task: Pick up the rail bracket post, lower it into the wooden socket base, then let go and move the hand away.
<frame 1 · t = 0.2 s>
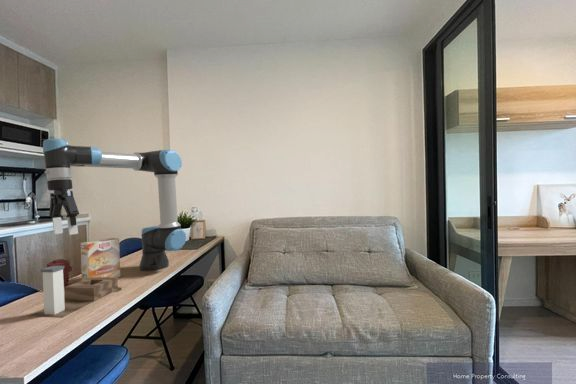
hand: (66, 234, 113), 27 cm above the table, tool pointing down, fingers open, 13 cm apart
wooden socket base: (92, 296, 121), on the table
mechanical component: (59, 286, 135), on the table
rail bracket post: (54, 311, 104), point 1 cm above the table, touching wooden socket base
coffeecake box: (101, 280, 143), on the table
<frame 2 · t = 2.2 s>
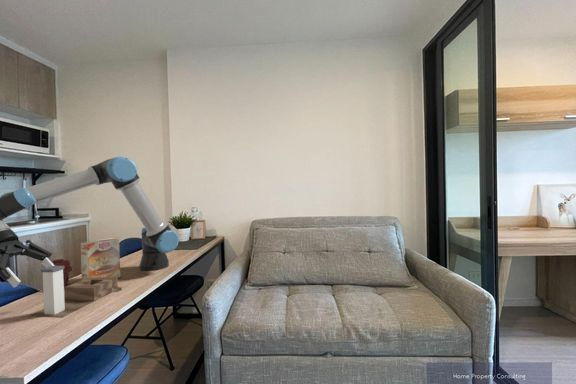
hand: (37, 278, 103), 13 cm above the table, tool tilted 45°, fingers open, 13 cm apart
nothing on the table moved.
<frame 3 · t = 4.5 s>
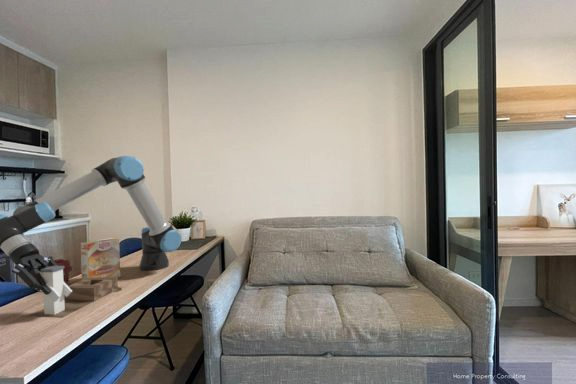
hand: (63, 296, 103), 7 cm above the table, tool tilted 45°, fingers closed on rail bracket post, 4 cm apart
rail bracket post: (54, 311, 104), point 1 cm above the table, touching gripper, wooden socket base
everything else where it was.
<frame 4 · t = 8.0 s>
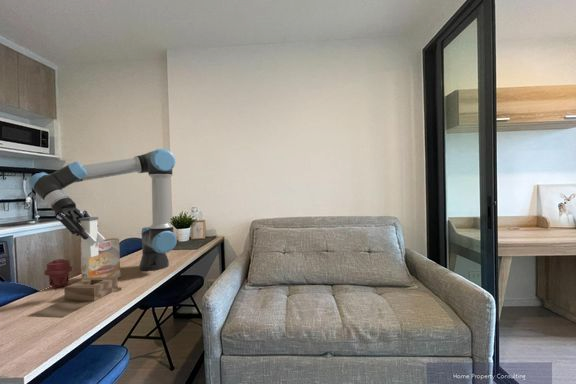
hand: (98, 242, 120), 23 cm above the table, tool tilted 45°, fingers closed on rail bracket post, 4 cm apart
rail bracket post: (90, 256, 120), point 17 cm above the table, touching gripper
everything else where it was.
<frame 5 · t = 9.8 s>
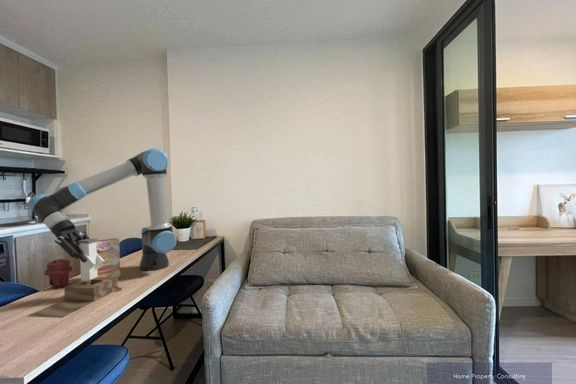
hand: (97, 264, 119), 13 cm above the table, tool tilted 45°, fingers closed on rail bracket post, 4 cm apart
rail bracket post: (89, 278, 120), point 8 cm above the table, touching gripper
everything else where it was.
when the fingers open (8 cm above the table, at t = 11.4 s): rail bracket post drops 2 cm, resting on wooden socket base.
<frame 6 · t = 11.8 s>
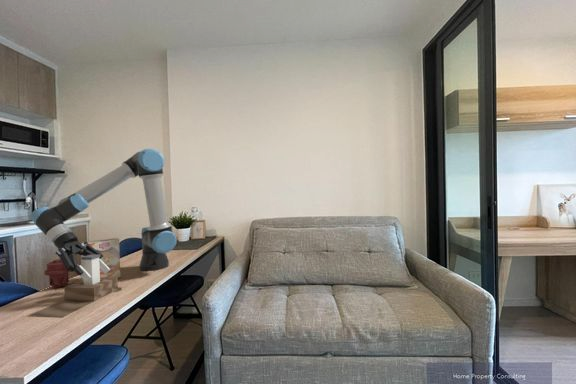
hand: (98, 275, 120), 9 cm above the table, tool tilted 45°, fingers open, 9 cm apart
rail bracket post: (92, 294, 121), point 1 cm above the table, touching wooden socket base
everything else where it was.
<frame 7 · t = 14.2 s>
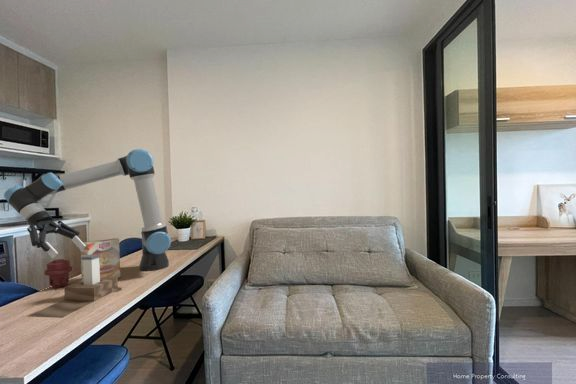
hand: (70, 251, 121), 19 cm above the table, tool tilted 45°, fingers open, 13 cm apart
nothing on the table moved.
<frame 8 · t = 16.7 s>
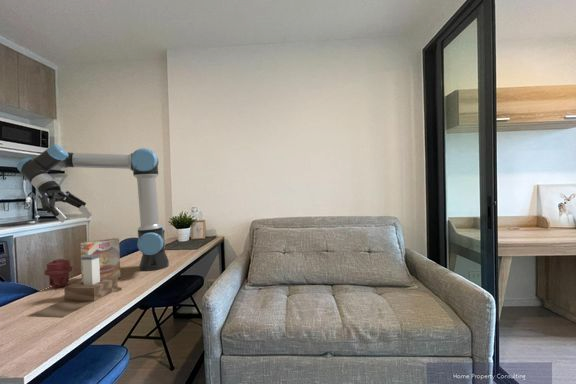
hand: (77, 218, 131), 32 cm above the table, tool tilted 45°, fingers open, 13 cm apart
nothing on the table moved.
at the end: rail bracket post 0.1 cm off-centre on the wooden socket base, point 1.0 cm above the wooden socket base's base; rail bracket post tilted 0°; the gripper is holding nothing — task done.
